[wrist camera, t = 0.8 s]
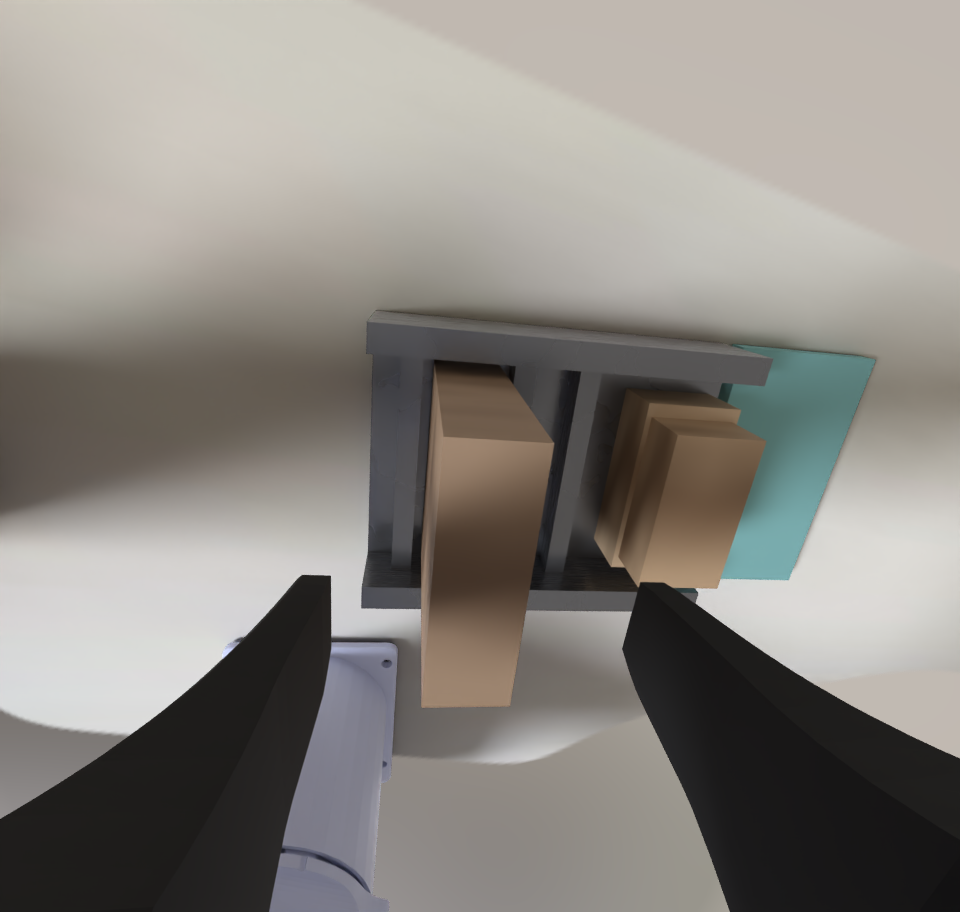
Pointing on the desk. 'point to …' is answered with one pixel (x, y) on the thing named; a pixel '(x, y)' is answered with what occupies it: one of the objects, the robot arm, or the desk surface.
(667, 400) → the offcut lower
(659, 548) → the offcut upper
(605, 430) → the rack
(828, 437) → the teal mat
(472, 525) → the walnut panel
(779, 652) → the desk surface
